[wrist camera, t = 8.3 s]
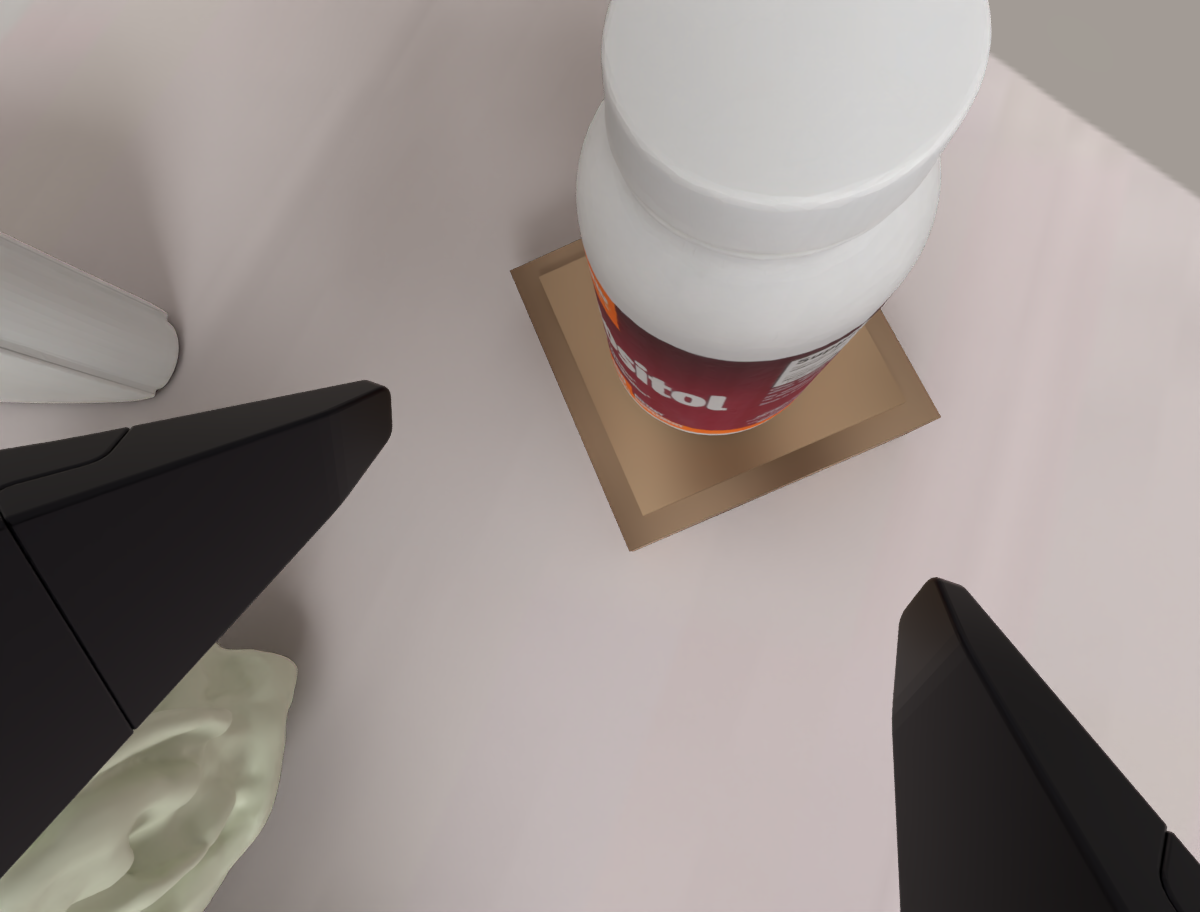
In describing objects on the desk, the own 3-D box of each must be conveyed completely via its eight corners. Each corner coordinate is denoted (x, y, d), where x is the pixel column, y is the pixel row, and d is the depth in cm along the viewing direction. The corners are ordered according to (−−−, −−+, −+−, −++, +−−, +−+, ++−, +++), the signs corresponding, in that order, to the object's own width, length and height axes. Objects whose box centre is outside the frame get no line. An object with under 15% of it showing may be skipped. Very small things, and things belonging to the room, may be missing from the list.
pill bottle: (570, 336, 18) (440, 29, 8) (717, 211, 19) (796, -266, 8) (703, 484, 17) (774, 371, 6) (859, 349, 17) (1187, 15, 7)
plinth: (633, 551, 20) (628, 551, 17) (527, 302, 22) (507, 266, 19) (905, 434, 20) (945, 414, 17) (773, 191, 21) (790, 138, 19)
